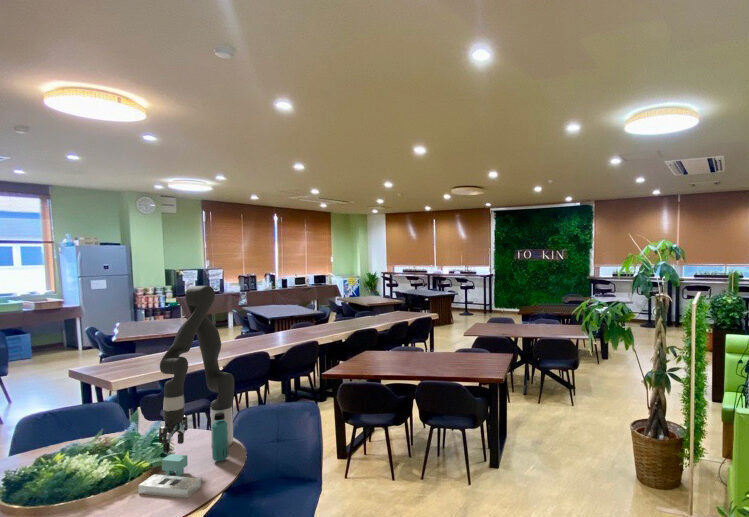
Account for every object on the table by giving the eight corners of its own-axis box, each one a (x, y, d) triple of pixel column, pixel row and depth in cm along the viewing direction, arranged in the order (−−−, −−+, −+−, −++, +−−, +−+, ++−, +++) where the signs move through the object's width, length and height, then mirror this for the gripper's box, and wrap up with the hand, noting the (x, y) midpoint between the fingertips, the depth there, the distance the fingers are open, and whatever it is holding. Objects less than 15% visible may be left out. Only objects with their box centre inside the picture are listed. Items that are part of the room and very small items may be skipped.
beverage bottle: (223, 465, 175) (222, 416, 175) (208, 463, 176) (208, 415, 176) (231, 458, 181) (230, 411, 181) (217, 456, 182) (216, 410, 183)
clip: (162, 476, 166) (161, 460, 166) (170, 470, 171) (170, 454, 171) (179, 478, 165) (179, 461, 165) (187, 471, 170) (187, 455, 170)
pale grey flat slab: (153, 482, 162) (153, 474, 162) (200, 486, 158) (200, 478, 158) (138, 493, 154) (138, 485, 154) (187, 498, 150) (187, 489, 150)
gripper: (177, 400, 176) (176, 440, 176) (153, 412, 162) (152, 454, 162) (193, 401, 175) (193, 441, 174) (170, 413, 161) (170, 456, 160)
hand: (173, 447), depth 168 cm, fingers open, 8 cm apart
